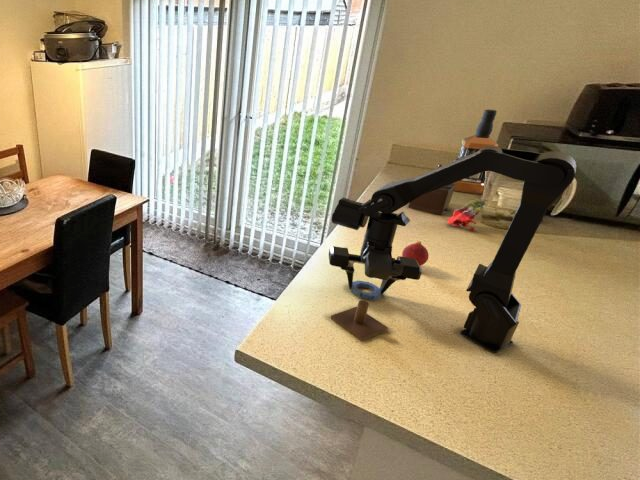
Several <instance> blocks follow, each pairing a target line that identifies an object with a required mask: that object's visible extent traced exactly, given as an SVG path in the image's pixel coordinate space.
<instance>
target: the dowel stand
mask: <svg viewBox="0 0 640 480" xmlns="http://www.w3.org/2000/svg"><path fill="white" fill-rule="evenodd" d="M369 307H370V303H369V302H368V301H366V300H363V299H362V300H361V299H360V300H359V301H358V303H357V306H354V307H352V308H349V309H346V310H342V311H340V312H337V313H334V314H332V315H330V320H332V321H334V323H336V324H337V325H339V326H341V327H342V328H343V329H344V330H346V331H347V332H348V333H350V334H351V335H353V336H354V337H355V338H357V339H358V340H359V341H364V340H367V339H370V338H372V337H374V336H377V335H379V334H382V333H384V332H387V331H388V330H389V327H388V326H387V325H386V324H383V323H382V322H380V321H379V320H377V319H376V318H375V317H373V316H372V315H370V314H368V311H369Z"/></svg>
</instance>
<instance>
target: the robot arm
mask: <svg viewBox="0 0 640 480" xmlns="http://www.w3.org/2000/svg"><path fill="white" fill-rule="evenodd" d="M484 171H488V172H492V173H496V174H498V175H502V176H504V177H507V178H510V179H513V180H517V181H521V182H523V185H522V190H521V197H520V203H519V205H518V207H517V210H516V212H515V213H514V216H513V218H512V220H511V222H510V224H509V226H508V228H507V230H506V232H505V235H504V237H503V239H502V241H501V243H500V245H499V248H497V249H498V250H497V252H496V254H495V255H494V258H493V260H492V261H491V262H490V263H489V264H488V265H487V266H485V265H484V264H482V263H478V265H477V267H476V269H475V271H474V274H473V276H472V278H471V279H470V282H469V284H468V285H467V287H466V290H465V292H467V293H468V292H469V293H468V294H469V295H468V300H469V302H470V303H471V304H472V306H474V308H473V310H471V311H469V313H468V314H467V316H466V320H465V322H464V324H463V328H464V329H462V330H460V332H459V333H460V335H462V336H463V337H465V338H467V339H469V340H470V341H472V342H474V343H475V344H477V345H479V346H481V347H483V348H484V349H486V350H488V351H490V352H492V353H493V354H496V353H499V352H501V351H503V350H505V349H507V348H509V347H511V346H513V345H514V341H513V340H512V338H513V336H514V334H515V332H516V330H517V328H518V325H519V324H520V322H519V321H518V319H519V315H520V311H521V309H522V303H521V302H520V301H519V300H518V298H517V297H516V296H515V295H514V294H513V288H514V285H515V284H514V283H515V279H516V275H517V270H518V269H519V266H520V264H521V262H522V260H523V258H524V256H525V254H526V252H527V250H528V248H529V247H530V244H531V242H532V241H533V239H534V236H535V234H536V232H537V231H538V230H539V227H540V225H541V223H542V221H543V219H544V217H545V216H546V213H547V211H548V210H549V209H550V208H551V207H552V205H553V204H555V202H556V201H557V200H558V199H559V198H560V197H561V196H562V195H563V194H564V193H565V191H566V190H567V189H568V188H569V186H570V185H571V184H572V183H573V181H574V180H575V176H576V172H577V161H576V160H575V159H574V158H573V156H571V155H569V154H568V153H566V152H562V151H555V150H554V151H553V150H552V151H546V152H543V153H541V152H537V151H531V150H530V151H529V150H523V149H522V150H521V149H511V148H504V147H500V146H498V147H496V146H487V147H484V148H482V149H480V150H479V151H477V152H475V153H473V154H470V155H468V156H466V157H463V158H461V159H458V160H456V161H454V160H453V161H451V162H449V163H446V164H444V165H443V166H442V167H439V168H438V167H437V168H435V169H433V170H429V171H428V172H425V173H423V174H421V175H418V176H414V177H410V178H404V179H399V180H395V181H391V182H388V183H385V184H383V185H382V186H381V187H380V188H378V189H377V190H375V191H374V192H373V193H372V195H371V198H370V199H369V200H367V201H365V202H359V201H355V200H351V199H349V198H347V197H341V198H340V199H338V202H337V205H336V206H335V209H334V211H333V212H332V213H331V223H332V224H334V225H338V226H340V227H345V228H347V229H351V230H355V231H358V230H359V229H360V228H365V227H366V230H365V233H364V238H363V241H362V245H361V248H360V254H353V253H349V248H348V247H342V246H335V245H332V246H331V247H330V248H329V251H328V262H329V265H330V266H332V267H338V268H340V269H341V270H342V271H345V273H346V278H347V284H348V289H349V290H351V288H352V284H353V282H354V273H355V267H354V265H355V264H361V265H364V275H365V277H366V278H369V279H379V280H381V283H380V286H379V288H380V291H381V296H383V294H384V293H385V292H386V291H388V289H389V288H390V287H391V286H392V285H393V284H394V283H395V282H398V281H405V280H407V279H409V280H414V281H415V280H416V281H418V280H420V279H421V276H422V274H423V273H422V272H423V271H422V268H421V266H419V264H418V262H417V260H416V259H414V258H408V257H402V255H398V256H397V257H396V258H395V257H393V256H392V252H393V243H394V239H395V236H396V233H397V228H398V226H401V227H406V226H407V225H408V224H409V223H410V222H411V219H410V218H409V217H408V216H407V215H406V214H405V212H404V211H401V212H399V213H396V211H398V210H399V209H402V208H403V207H405V206H407V205H409V204H410V202H412V201H413V200H415V199H416V198H418V197H420V196H421V195H423V194H426V193H429V192H431V191H434V190H437V189H439V188H442V187H444V186H447V185H450V184H452V183H455V182H457V181H460V180H463V179H465V178H468V177H471V176H473V175H476V174H478V173H481V172H484Z"/></svg>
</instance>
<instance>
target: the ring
mask: <svg viewBox="0 0 640 480" xmlns="http://www.w3.org/2000/svg"><path fill="white" fill-rule="evenodd" d="M359 288H365V289H368V290H370V291H372V292H367V291H362V290H361V289H359ZM350 292H351V294H353V295H355V296H356V297H358V298H360V299H362V300H363V299H364V300H368V301H375V300H377V299H380V298H381V297H382V295H381V291H380V286H378V285H376V284H374V283H372V282H369V281H364V280H355V281H353V284H352V288H351V289H350Z"/></svg>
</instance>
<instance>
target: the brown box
mask: <svg viewBox="0 0 640 480" xmlns="http://www.w3.org/2000/svg"><path fill="white" fill-rule="evenodd" d="M458 159H461V158H458V157H457V158H455V159H454V160H453V162H454V161H456V160H458ZM442 166H444V165H443V164H441V163H440V164H438V165H437V168H439V167H442ZM455 186H456V184H453V183H452V184H450V185H447V186H444V187H442V188H439V189H437V190H434V191H431V192H429V193H426V194H423V195H421V196H420V197H418V198H416V199H415V200H413V201H412V202H410V203H408V208H410V209H413V210H417V211H422V212H426V213H429V214H433V215H439V216H442V215H444V214H445V213H447V212H448V211H450V204H451V200H452V197H453V194H454V192H455V191H454V188H455Z"/></svg>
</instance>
